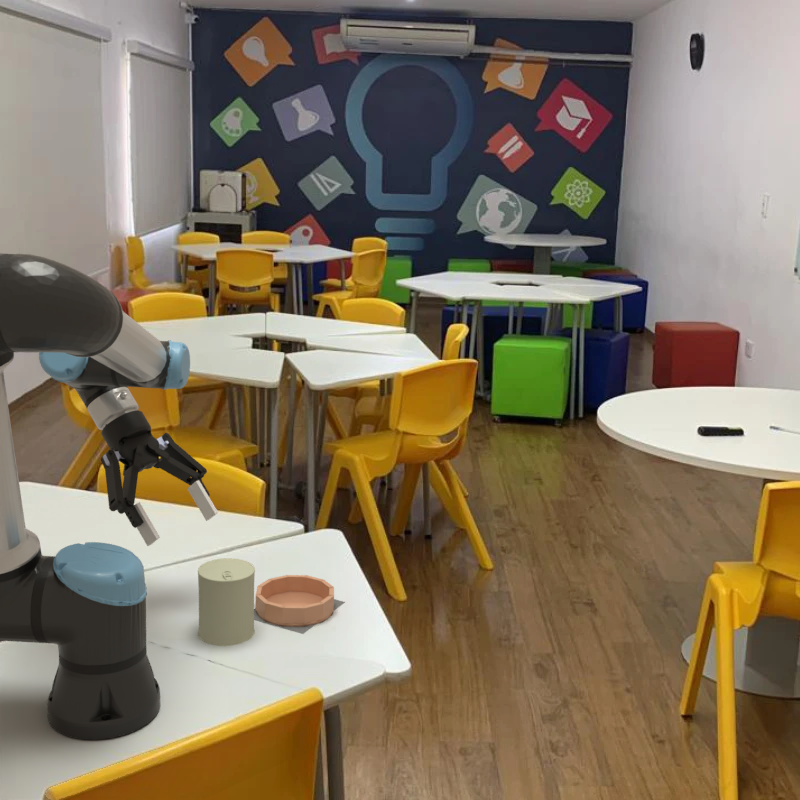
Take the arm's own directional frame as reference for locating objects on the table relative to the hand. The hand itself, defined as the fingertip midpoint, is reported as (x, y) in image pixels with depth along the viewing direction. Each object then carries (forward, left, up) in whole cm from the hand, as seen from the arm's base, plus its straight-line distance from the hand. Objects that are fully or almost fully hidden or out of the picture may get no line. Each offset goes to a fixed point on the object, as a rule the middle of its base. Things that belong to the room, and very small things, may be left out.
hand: (184, 529), depth 160 cm
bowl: (+13, -14, -16) cm, 25 cm away
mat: (+13, -14, -17) cm, 25 cm away
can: (0, -9, -17) cm, 19 cm away
